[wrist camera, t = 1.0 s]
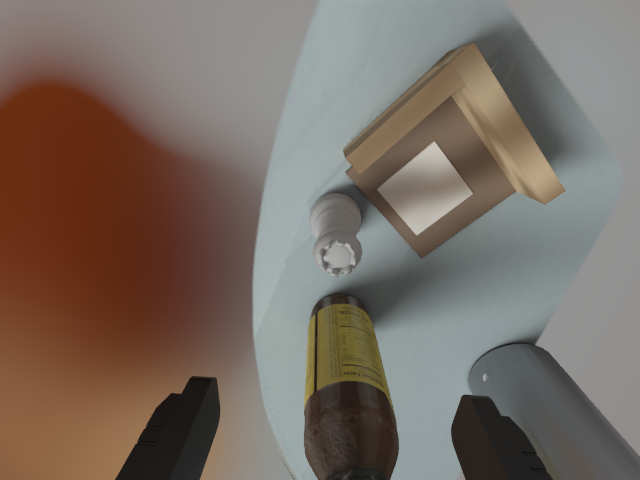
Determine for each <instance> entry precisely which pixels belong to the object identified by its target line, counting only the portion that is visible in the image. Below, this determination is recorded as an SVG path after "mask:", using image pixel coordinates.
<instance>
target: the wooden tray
mask: <svg viewBox="0 0 640 480" xmlns="http://www.w3.org/2000/svg"><path fill="white" fill-rule="evenodd" d="M343 152H344V155H345V158H346V159H347V161H348V162H349V163H350V164H351V165H352V167H351V168H350V169H349V170H347V171H346V174H347V175H348V176H349V177H350V178H351V179H352V181H353V182H354V183H355V184H356V185H357V186H358V187H359V189H360V190H361V191H362V192H363V193H364V194H365V195H366V196H367V198H368V199H369V200H370V201H371V202H372V203H373V204H374V205H375V207H376V208H377V209H378V210H379V211H380V212H381V213H382V214H383V216H384V217H385V218H386V219H387V220H388V221H389V222H390V223H391V225H392V226H393V227H394V228H395V229H396V230H397V231H398V232H399V234H400V235H401V236H402V237H403V238H404V239H405V240H406V241H407V243H408V244H409V245H410V246H411V247H412V248H413V249H414V251H415V252H416V253H417V254H418V255H419V256H420V257H421V258H423V257H424V256H426V255H427V254H429V253H430V252H431V251H433V250H434V249H436V248H437V247H438V246H440V245H441V244H443V243H444V242H445V241H447V240H448V239H450V238H451V237H452V236H454V235H455V234H457V233H458V232H459V231H461V230H462V229H464V228H465V227H466V226H468V225H469V224H471V223H472V222H473V221H475V220H476V219H478V218H479V217H481V216H482V215H483V214H485V213H486V212H488V211H489V210H490V209H492V208H493V207H495V206H496V205H497V204H499V203H500V202H502V201H503V200H504V199H506V198H507V197H509V196H510V195H511V194H513V193H514V192H516V191H517V192H520V193H522V194H524V195H526V196H528V197H530V198H532V199H534V200H536V201H538V202H540V203H542V204H547V203H548V202H550V201H551V200H553V199H554V198H556V197H557V196H558V195H560V194H561V193H563V192H564V191H565V189H564V188H563V186H562V184H561V183H560V181H559V179H558V178H557V176H556V175H555V173H554V171H553V170H552V168H551V166H550V165H549V163H548V162H547V160H546V158H545V157H544V155H543V153H542V152H541V150H540V149H539V147H538V145H537V144H536V142H535V140H534V139H533V137H532V136H531V134H530V132H529V131H528V129H527V127H526V126H525V124H524V123H523V121H522V119H521V118H520V116H519V114H518V113H517V111H516V110H515V108H514V106H513V105H512V103H511V101H510V100H509V98H508V97H507V95H506V93H505V92H504V90H503V88H502V87H501V85H500V84H499V82H498V80H497V79H496V77H495V75H494V74H493V72H492V71H491V69H490V67H489V66H488V64H487V62H486V61H485V59H484V58H483V56H482V54H481V53H480V51H479V50H478V48H477V46H476V45H475V43H474V42H472V43H469V44H467V45H464V46H462V47H459V48H457V49H454V50H452V51H449V52H448V53H447V54H446V55H445V56H444V57H442V58H441V59H440V60H439V61H438V62H437V63H436V64H435V65H434V66H433V67H432V68H431V69H430V70H428V71H427V72H426V73H425V74H424V75H423V76H422V77H421V78H420V79H419V80H418V81H417V82H415V83H414V84H413V85H412V86H411V87H410V88H409V89H408V90H407V91H406V92H405V93H404V94H402V95H401V96H400V97H399V98H398V99H397V100H396V101H395V102H394V103H393V104H392V105H391V106H389V107H388V108H387V109H386V110H385V111H384V112H383V113H382V114H381V115H380V116H379V117H378V118H376V119H375V120H374V121H373V122H372V123H371V124H370V125H369V126H368V127H367V128H366V129H365V130H364V131H362V132H361V133H360V134H359V135H358V136H357V137H356V138H355V139H354V140H353V141H352V142H351V143H349V144H348V145H347V146H346V147H345V148H344V149H343Z"/></svg>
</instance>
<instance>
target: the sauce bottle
mask: <svg viewBox="0 0 640 480" xmlns="http://www.w3.org/2000/svg"><path fill="white" fill-rule="evenodd" d="M304 415H305V430H304V446H305V454H306V458H307V460H308V462H309V464H310V466H311V468H312V470H313V472H314V474H315V475H316V477H317V479H318V480H390V478H391V475H392V473H393V470H394V467H395V464H396V461H397V457H398V450H399V439H398V433H397V427H396V418H395V414H394V410H393V405H392V402H391V398H390V393H389V389H388V385H387V381H386V377H385V373H384V369H383V365H382V360H381V356H380V352H379V348H378V344H377V340H376V336H375V331H374V327H373V324H372V321H371V319H370V317H369V313H368V311H367V309H366V307H365V305H364V304H363V303H362V302H361V301H360V300H358V299H356V298H354V297H352V296H348V295H343V294H333V295H331V296H328V297H325V298H324V299H322V300H321V301H319V302H318V303H317V304H316V305H315V306H314V308H313V311H312V313H311V317H310V323H309V327H308V344H307V365H306V384H305V403H304Z"/></svg>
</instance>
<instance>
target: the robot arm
mask: <svg viewBox="0 0 640 480" xmlns="http://www.w3.org/2000/svg"><path fill="white" fill-rule="evenodd" d="M468 383H469V388H470V390H471V392H472V394H473V395H463V396H462V397H461V400H460V403H459V406H458V409H457V412H456V414H455V417H454V420H453V423H452V428H451V435H452V442H453V446H454V449H455V451H456V454H457V457H458V460H459V462H460V465H461V468H462V471H463V474H464V476H465V479H466V480H640V456H639V455H638V454H637V453H636V451H635V450H634V449H633V448H632V447H631V446H630V445H629V444H628V442H627V441H626V440H625V439H624V438H623V437H622V436H621V434H620V433H619V432H618V431H617V430H616V429H615V428H614V426H613V425H612V424H611V423H610V422H609V421H608V420H607V419H606V417H605V416H604V415H603V414H602V413H601V412H600V410H599V409H597V407H596V406H595V405H594V404H593V403H592V401H591V400H590V399H589V398H588V397H587V396H586V395H585V393H583V391H582V390H581V389H580V388H579V386H578V385H577V384H576V383H575V382H574V381H573V380H572V378H571V377H570V376H569V375H568V374H567V373H566V372H565V371H564V369H563V368H562V367H561V366H560V365H559V364H558V363H557V361H556V360H555V359H554V358H553V357H552V356H551V355H550V353H548V352H547V351H546V350H544V349H543V348H541V347H538V346H536V345H530V344H512V345H507V346H503V347H500V348H497V349H495V350H493V351H491V352H489V353H487V354H486V355H484V356H483V357H481V358H480V359H479V360H478V361H477V362H476V363H475V365H474V366H473V367H472V369H471V371H470V374H469V378H468ZM219 418H220V402H219V393H218V385H217V379H216V378H215V377H201V376H192V377H191V378H190V379H189V381H188V383H187V384H186V386H185V388H184V390H183V392H182V394H175V393H171V394H170V395H169V396H168V397H167V398H166V399H165V400H164V401H163V402H162V403H161V404H160V405H159V406H158V407H157V408H156V409H155V411H154V413H153V415H152V417H151V418H150V420H149V422H148V423H147V425H146V429H144V430H143V432H142V434H141V435H140V437H139V439H138V442H137V444H136V445H135V446H134V448H133V449H132V451H131V453H130V455H129V457H128V458H127V460H126V462H125V464H124V465H123V467H122V469H121V471H120V472H119V474H118V476H117V478H116V479H115V480H199V479H200V477H201V474H202V471H203V468H204V465H205V463H206V460H207V457H208V454H209V451H210V448H211V445H212V442H213V439H214V437H215V434H216V431H217V427H218V423H219Z"/></svg>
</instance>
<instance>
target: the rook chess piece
mask: <svg viewBox="0 0 640 480" xmlns="http://www.w3.org/2000/svg"><path fill="white" fill-rule="evenodd" d="M309 220H310V222H309V223H310V227H311V230H312V233H313V234H314V235H315V236H316V238H317V239H318V240H317V241H316V243H315V244H314V249H313V256H314V260H315V262H316V264H317V265H318V266H319V267H320V268H321V269H322V270H323V271H324V272H325V271H326V272H328V273H331V276H335V277H338V274H342V273H345V275H347V274H349V273H351V272H352V269H354V268H355V267H356V266H357V264H358V263H359V262H360V260H361V256H362V248H361V244H360V242H359V241H358V240H357V238H356V235H357V233H358V232H359V230H360V226H361V214H360V208H359V207H358V205H357V204H356V202H355V201H354V200H353V199H351V198H350V197H348V196H347V195H344V194H338V193H332V194H328V195H324V196H323V197H321V198H320V199H318V200H317V201H316V202H315V203H314V205H313V207H312V208H311V211H310V217H309Z"/></svg>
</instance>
